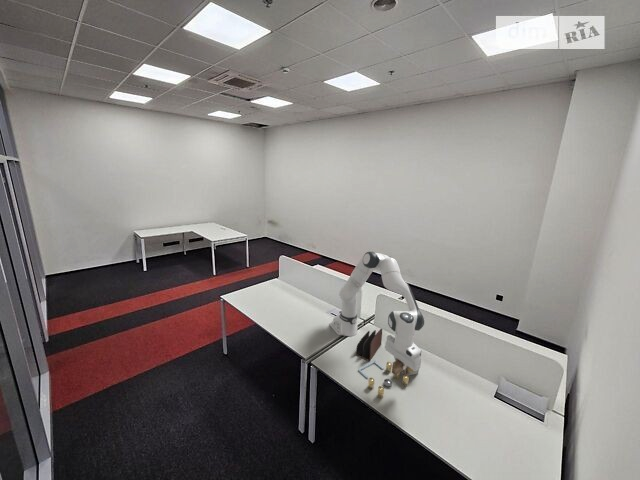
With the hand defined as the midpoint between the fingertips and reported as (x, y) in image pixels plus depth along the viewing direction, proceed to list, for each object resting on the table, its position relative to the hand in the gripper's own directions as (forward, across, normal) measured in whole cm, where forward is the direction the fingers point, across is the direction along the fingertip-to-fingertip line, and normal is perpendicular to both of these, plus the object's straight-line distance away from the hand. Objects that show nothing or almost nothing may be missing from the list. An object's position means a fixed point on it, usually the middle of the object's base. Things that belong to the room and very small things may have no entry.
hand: (400, 366), depth 139 cm
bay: (+16, -19, 0) cm, 25 cm away
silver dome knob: (+17, -6, 0) cm, 18 cm away
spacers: (+16, -7, -1) cm, 18 cm away
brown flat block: (+2, 0, 0) cm, 2 cm away
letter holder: (+17, -33, +12) cm, 39 cm away
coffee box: (+17, -6, +18) cm, 26 cm away
